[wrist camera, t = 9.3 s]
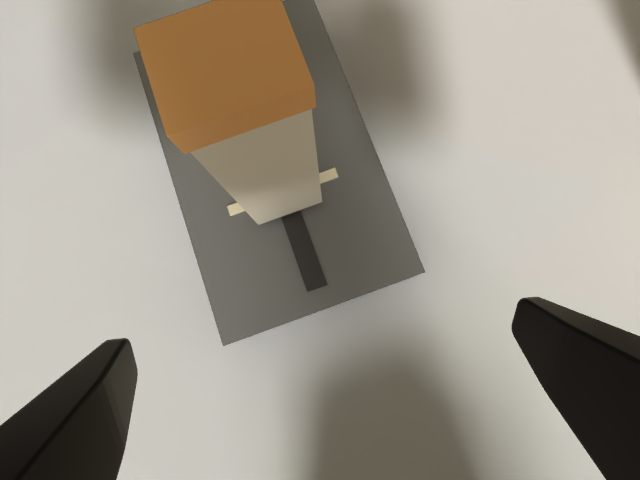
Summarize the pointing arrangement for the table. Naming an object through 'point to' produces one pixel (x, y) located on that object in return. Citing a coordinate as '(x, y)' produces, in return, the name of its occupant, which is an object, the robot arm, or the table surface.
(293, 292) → the console
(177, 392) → the table surface
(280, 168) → the fader knob
